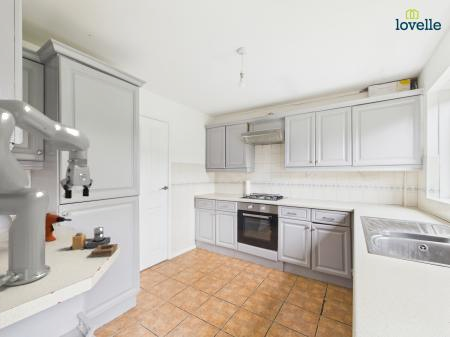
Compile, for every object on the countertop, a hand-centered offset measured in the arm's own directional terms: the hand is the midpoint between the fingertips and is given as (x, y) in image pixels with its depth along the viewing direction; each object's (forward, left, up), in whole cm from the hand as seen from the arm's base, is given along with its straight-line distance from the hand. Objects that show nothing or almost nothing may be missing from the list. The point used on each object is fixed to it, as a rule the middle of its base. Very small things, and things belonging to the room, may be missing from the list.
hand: (77, 197), depth 102 cm
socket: (+1, -9, -25) cm, 26 cm away
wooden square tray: (-10, -16, -25) cm, 31 cm away
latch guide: (+2, -1, -25) cm, 25 cm away
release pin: (-1, -1, -25) cm, 25 cm away
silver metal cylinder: (+1, -9, -24) cm, 26 cm away
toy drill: (+10, +15, -25) cm, 30 cm away
